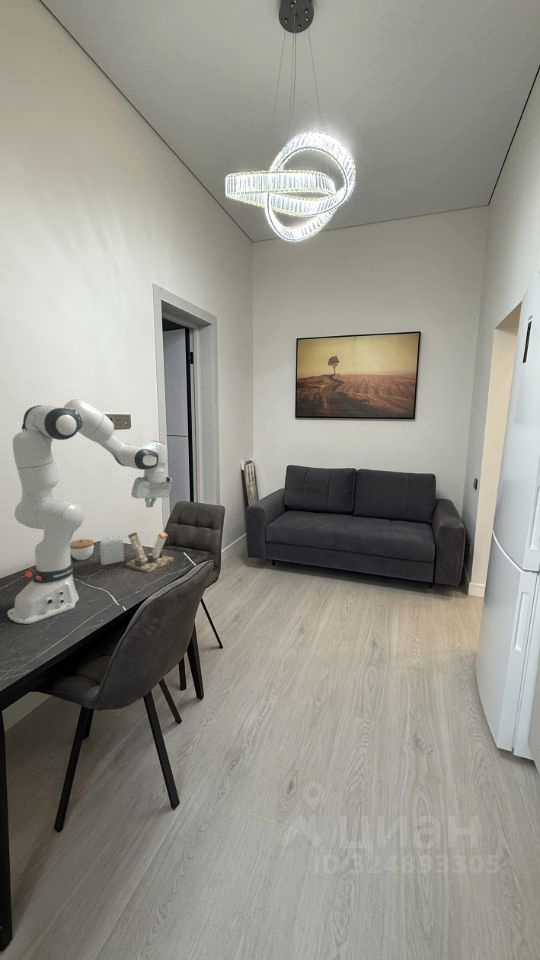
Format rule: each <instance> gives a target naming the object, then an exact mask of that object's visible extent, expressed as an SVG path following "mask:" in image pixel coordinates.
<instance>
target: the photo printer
mask: <svg viewBox="0 0 540 960" xmlns="http://www.w3.org/2000/svg"><path fill="white" fill-rule="evenodd" d="M99 542H100V543H99V552H100V564H101V566H106V565H112V564H116V563H120V562H121V563H122V562H124V561H125V552H124V551H125V549H124V548H125V547H124V540H123V538H122V537H121V536H110V537H106V538H103V539H101V540H100V541H99Z"/></svg>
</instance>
